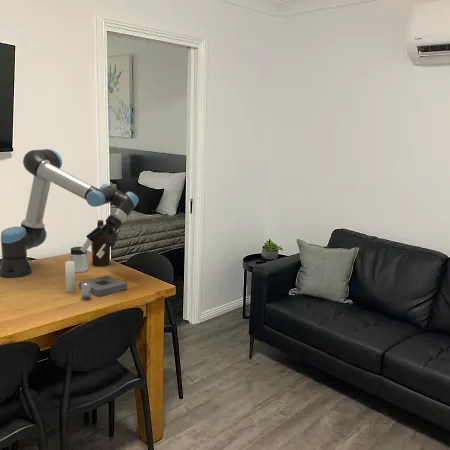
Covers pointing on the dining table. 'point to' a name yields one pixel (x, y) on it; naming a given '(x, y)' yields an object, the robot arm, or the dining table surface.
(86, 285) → the short pin
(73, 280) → the long pin
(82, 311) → the dining table surface
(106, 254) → the olive oil
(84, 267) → the jar
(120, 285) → the hole plate
